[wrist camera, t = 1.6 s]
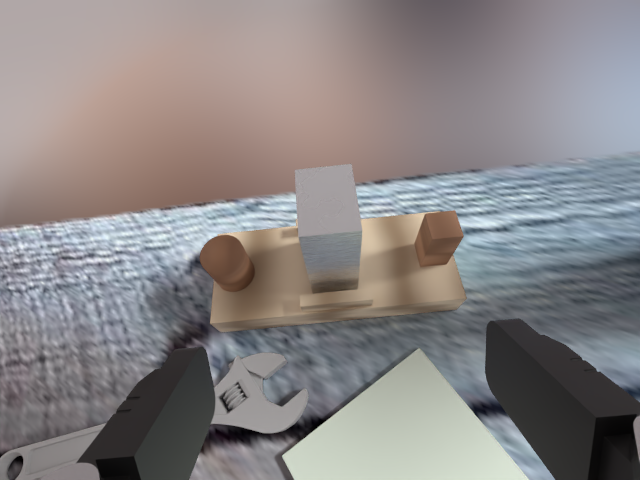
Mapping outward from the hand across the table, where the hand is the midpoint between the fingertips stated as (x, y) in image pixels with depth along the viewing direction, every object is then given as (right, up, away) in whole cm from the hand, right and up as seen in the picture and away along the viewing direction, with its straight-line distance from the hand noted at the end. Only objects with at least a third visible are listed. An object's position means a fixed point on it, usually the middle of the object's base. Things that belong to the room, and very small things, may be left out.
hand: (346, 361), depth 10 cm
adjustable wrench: (-14, -12, +19) cm, 27 cm away
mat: (+6, -15, +15) cm, 22 cm away
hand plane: (+1, 0, +24) cm, 24 cm away
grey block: (0, +1, +21) cm, 21 cm away
